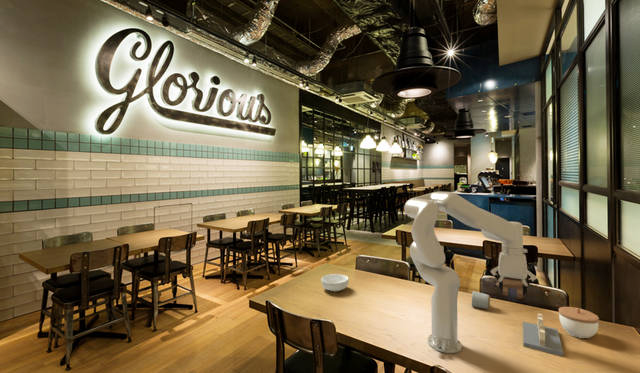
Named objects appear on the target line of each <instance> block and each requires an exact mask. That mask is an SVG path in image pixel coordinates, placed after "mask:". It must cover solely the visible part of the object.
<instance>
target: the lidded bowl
mask: <svg viewBox="0 0 640 373" xmlns="http://www.w3.org/2000/svg"><path fill="white" fill-rule="evenodd" d="M558 318H559V319H558V320H559V322H560V325H561V326H562V328H563V329H564V330H565V331H566V333H567V335H569V336H572V337H574V338H577V337H578V339H581V338H589V337H590V338H592V337H593V336H595V335H596V333H597V332H598V330H599V321H600V317H599V316H598V315H597V314H595V313H594V312H592V311H589V310H586V309H583V308H580V307H573V306H562V307H561V306H560V307H559V308H558ZM590 338H589V339H590Z"/></svg>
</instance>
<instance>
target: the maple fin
mask: <svg viewBox="0 0 640 373" xmlns="http://www.w3.org/2000/svg"><path fill="white" fill-rule="evenodd" d="M536 315H537V321H536V322H537V325H538V334H539V342H540V346H544V347H545V329H544V319H543V318H544V316H543V314H542V313H537V314H536Z"/></svg>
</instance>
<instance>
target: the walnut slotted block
mask: <svg viewBox="0 0 640 373" xmlns="http://www.w3.org/2000/svg"><path fill="white" fill-rule="evenodd" d="M509 289H513V290H514V289H515V290H517V292H516V293H517V294H516V296H517V298H518V299H524V295H523V281H522V280H521V279H515V278H508V277H504V278H503V292H502V295H503V296H506V297H507V296H508V297H509Z"/></svg>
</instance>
